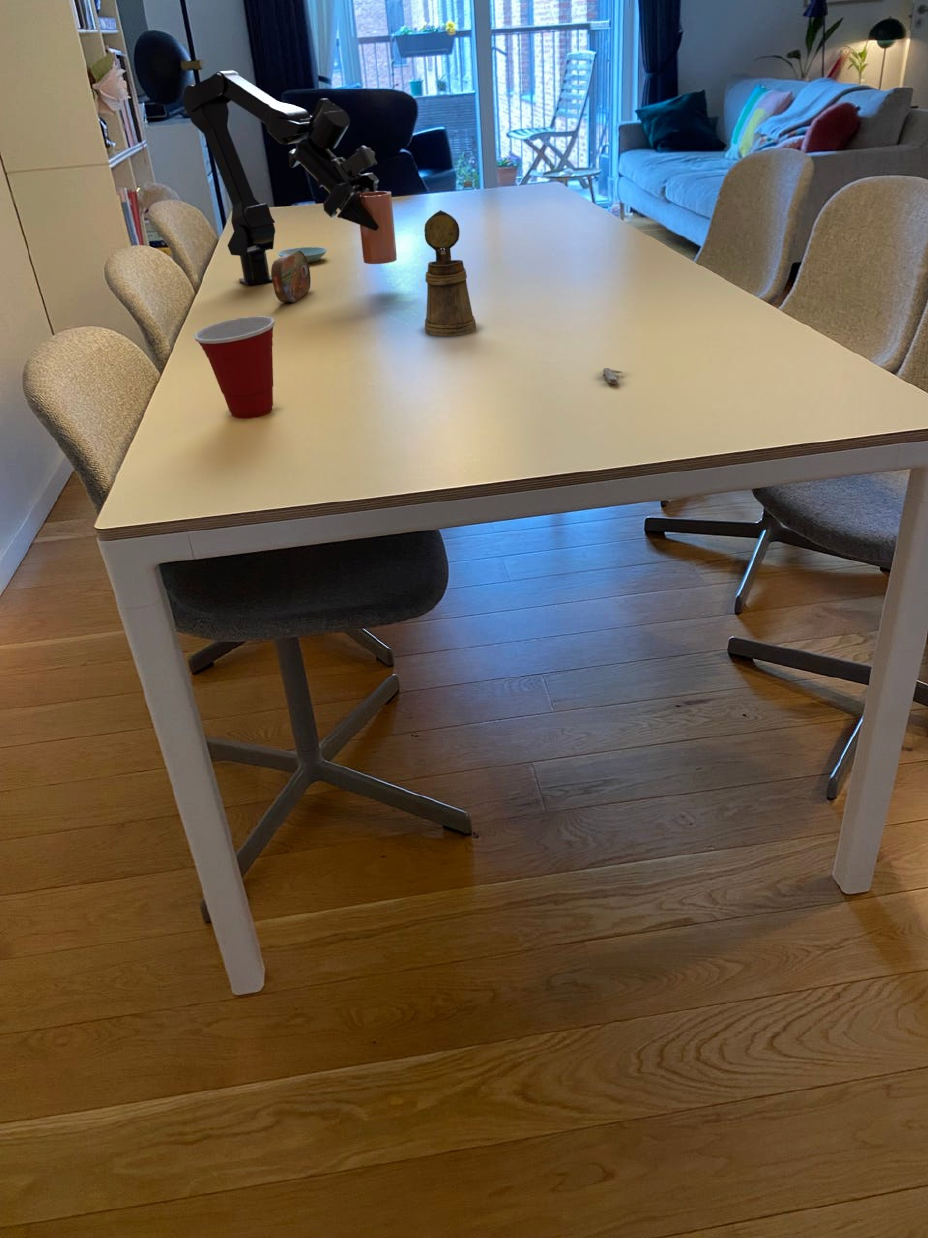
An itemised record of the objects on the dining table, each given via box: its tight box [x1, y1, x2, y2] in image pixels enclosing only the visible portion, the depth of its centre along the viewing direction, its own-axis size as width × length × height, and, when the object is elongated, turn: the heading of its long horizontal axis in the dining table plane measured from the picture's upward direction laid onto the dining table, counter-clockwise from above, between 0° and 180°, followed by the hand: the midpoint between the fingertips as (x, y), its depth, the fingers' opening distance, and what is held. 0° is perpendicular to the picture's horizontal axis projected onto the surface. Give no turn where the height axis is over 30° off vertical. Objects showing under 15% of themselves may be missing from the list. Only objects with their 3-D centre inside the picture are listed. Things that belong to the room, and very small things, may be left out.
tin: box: [270, 251, 312, 303], centre depth 184 cm, size 15×3×8 cm, turn 168°
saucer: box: [277, 246, 328, 264], centre depth 219 cm, size 12×12×2 cm
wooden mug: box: [423, 209, 477, 337], centre depth 154 cm, size 9×14×18 cm, turn 4°
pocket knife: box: [602, 367, 623, 384], centre depth 129 cm, size 6×1×3 cm
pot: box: [359, 190, 398, 265], centre depth 182 cm, size 7×7×12 cm
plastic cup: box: [193, 315, 275, 420], centre depth 123 cm, size 11×11×12 cm
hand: (383, 225), depth 181 cm, fingers closed on pot, 7 cm apart
